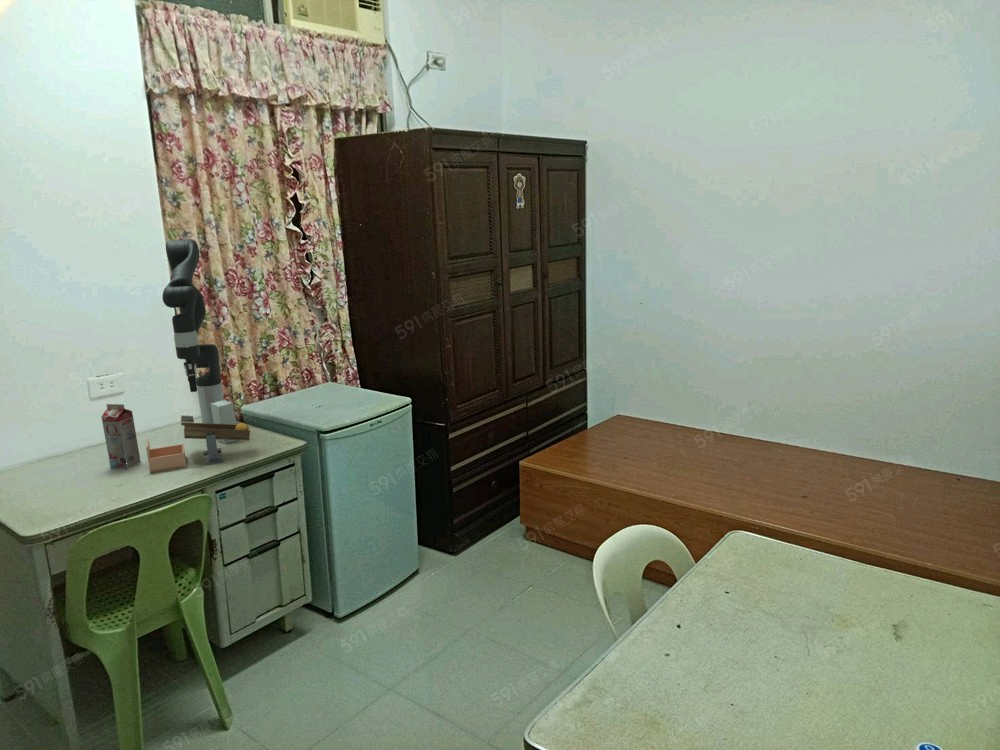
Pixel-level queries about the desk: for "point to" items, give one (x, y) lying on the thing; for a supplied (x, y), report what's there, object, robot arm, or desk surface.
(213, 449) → the lever stand
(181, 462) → the cup
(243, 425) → the ball
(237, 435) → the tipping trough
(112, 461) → the juice carton
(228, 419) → the skincare box
